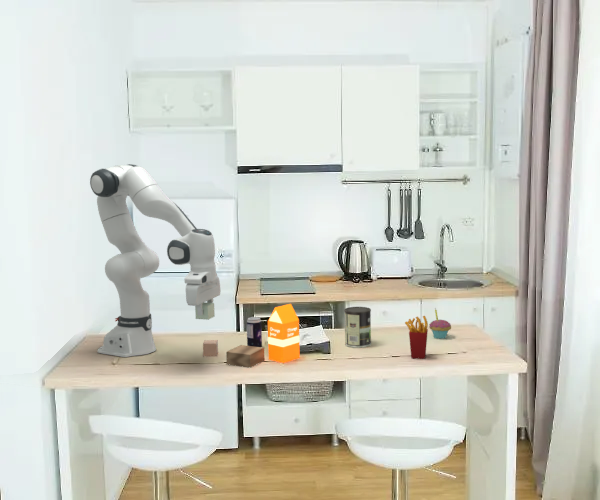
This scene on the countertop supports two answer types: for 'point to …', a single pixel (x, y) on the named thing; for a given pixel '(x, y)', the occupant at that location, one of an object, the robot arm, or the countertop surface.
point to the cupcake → (439, 327)
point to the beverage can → (254, 332)
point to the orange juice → (283, 334)
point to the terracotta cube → (210, 348)
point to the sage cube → (206, 311)
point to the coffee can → (357, 327)
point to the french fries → (418, 338)
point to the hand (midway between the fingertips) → (204, 313)
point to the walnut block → (245, 356)
